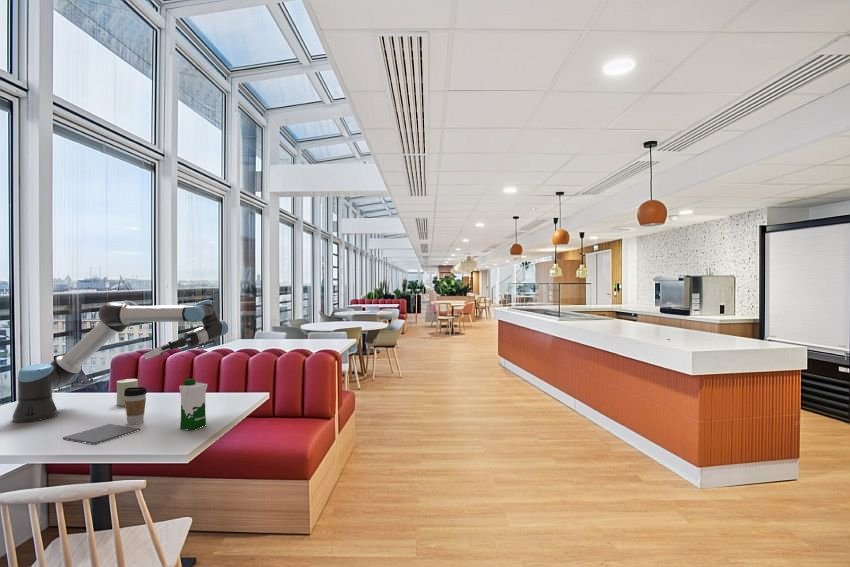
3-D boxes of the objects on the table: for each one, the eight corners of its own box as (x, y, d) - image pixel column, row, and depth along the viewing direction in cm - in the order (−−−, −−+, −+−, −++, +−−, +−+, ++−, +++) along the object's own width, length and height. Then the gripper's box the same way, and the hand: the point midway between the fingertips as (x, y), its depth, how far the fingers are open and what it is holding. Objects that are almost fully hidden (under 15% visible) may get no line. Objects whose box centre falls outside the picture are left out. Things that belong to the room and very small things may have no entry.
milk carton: (194, 423, 192) (194, 377, 193) (210, 425, 189) (210, 378, 190) (176, 429, 184) (176, 381, 184) (192, 432, 181) (193, 382, 181)
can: (126, 400, 232) (126, 377, 232) (142, 401, 231) (142, 378, 231) (111, 405, 223) (111, 381, 223) (128, 406, 222) (128, 381, 222)
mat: (62, 439, 173) (62, 437, 173) (109, 425, 190) (109, 423, 190) (94, 444, 167) (94, 442, 167) (140, 430, 184) (140, 428, 184)
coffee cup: (126, 421, 196) (126, 386, 197) (148, 418, 200) (148, 385, 200) (121, 426, 189) (121, 390, 189) (144, 424, 192) (145, 389, 192)
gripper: (208, 340, 209) (160, 358, 193) (189, 348, 225) (144, 365, 209) (202, 325, 208) (154, 342, 193) (183, 335, 225) (138, 351, 209)
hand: (148, 354), depth 201 cm, fingers open, 13 cm apart
